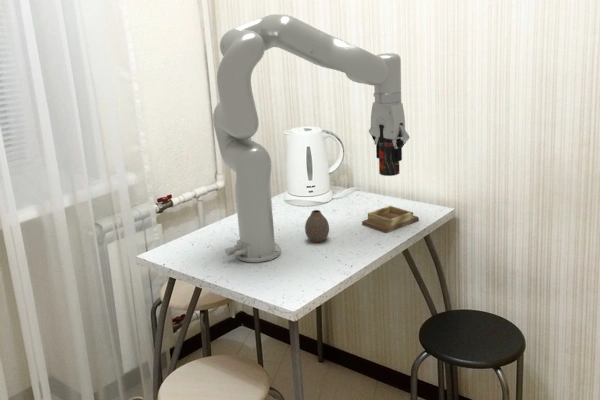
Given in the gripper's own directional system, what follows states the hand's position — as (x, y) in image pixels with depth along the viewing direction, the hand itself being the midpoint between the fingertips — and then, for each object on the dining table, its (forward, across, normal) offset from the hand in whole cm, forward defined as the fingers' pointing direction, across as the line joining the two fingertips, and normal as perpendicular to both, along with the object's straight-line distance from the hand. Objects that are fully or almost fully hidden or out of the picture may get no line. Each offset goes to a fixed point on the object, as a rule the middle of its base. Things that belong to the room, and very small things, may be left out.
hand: (389, 158), depth 193 cm
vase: (+20, -6, -24) cm, 32 cm away
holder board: (+20, 0, 0) cm, 20 cm away
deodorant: (+5, 0, 0) cm, 5 cm away
